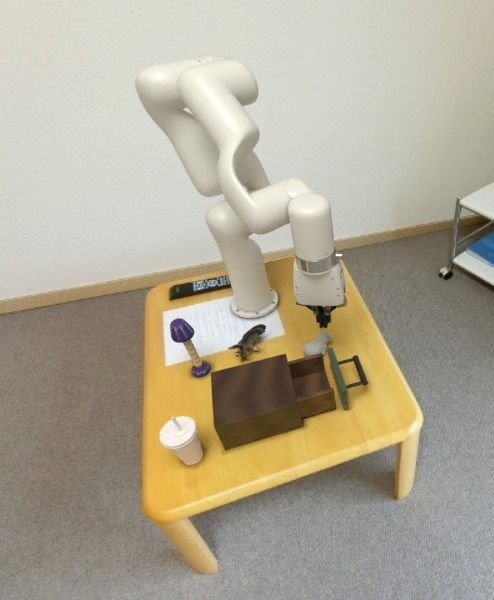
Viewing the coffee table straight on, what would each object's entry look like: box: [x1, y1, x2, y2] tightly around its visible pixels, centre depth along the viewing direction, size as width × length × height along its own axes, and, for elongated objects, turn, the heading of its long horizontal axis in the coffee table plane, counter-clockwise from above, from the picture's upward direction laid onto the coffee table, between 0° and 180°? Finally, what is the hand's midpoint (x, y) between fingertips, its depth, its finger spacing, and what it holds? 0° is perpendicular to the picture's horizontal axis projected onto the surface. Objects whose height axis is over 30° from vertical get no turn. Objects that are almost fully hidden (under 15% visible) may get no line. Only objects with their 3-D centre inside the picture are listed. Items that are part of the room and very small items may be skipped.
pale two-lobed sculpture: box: [302, 330, 333, 357], centre depth 105 cm, size 4×8×5 cm
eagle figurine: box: [227, 323, 267, 362], centre depth 104 cm, size 8×7×9 cm
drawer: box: [288, 346, 369, 419], centre depth 94 cm, size 20×13×7 cm, turn 111°
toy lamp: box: [169, 317, 212, 378], centre depth 95 cm, size 5×5×17 cm
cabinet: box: [210, 353, 304, 451], centre depth 90 cm, size 16×14×9 cm
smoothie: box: [158, 415, 204, 466], centre depth 81 cm, size 6×6×14 cm
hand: (324, 323), depth 95 cm, fingers closed
